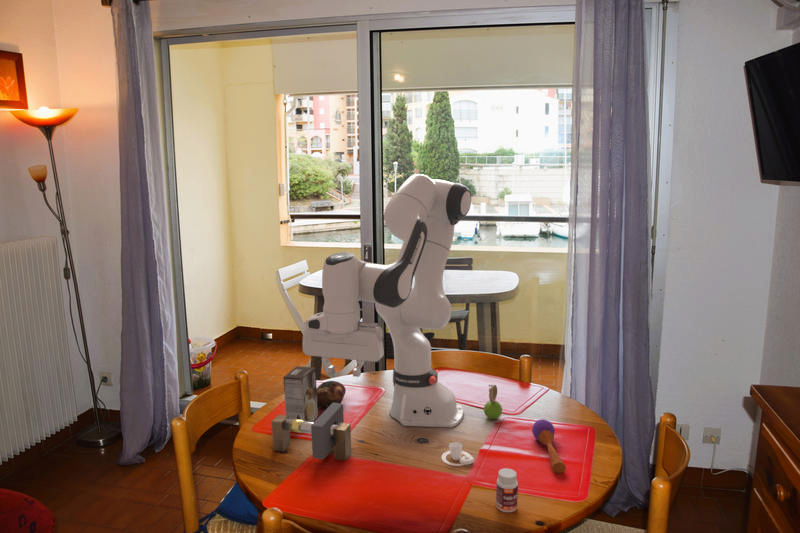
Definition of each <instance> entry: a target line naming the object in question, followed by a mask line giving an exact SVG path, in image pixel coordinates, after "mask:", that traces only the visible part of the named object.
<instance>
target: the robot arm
mask: <svg viewBox="0 0 800 533" xmlns="http://www.w3.org/2000/svg"><path fill="white" fill-rule="evenodd" d="M471 205H472V193H471V191H470V189H469V187H468V186H466V185H464V184H462V183H460V182H451V181H447V180H445V179H438V178H437V179H432V178H430V176H428V175H426V174H420V173H416V174H412V175H411V176H409V177H408V178H407V179H405V181H404V182H402V184H401V185H400V186H399V187H398V189H397V190H396V191H395V193H394V194H393V195H392V197H391V198H390V200H389V201H388V203H387V204H386V207H385V209H384V212H383V221H384V224H385V226H386V228H387V229H388V231H389V232H390V233H391V234H392V235H393V236H394V237H396V238H397V239H399V240H401V241H403V242H402V245H401V248H400V250H399V253H398V255H397V257H396V260H395V261H394V262H392V263H390V264H380V263H373V262H369V261H365V260H364V261H363V260H360V259H359V258H357V257H356V255H355V254H353V253H352V252H337V253H334V254H331V255H329V256H328V257H326V258H325V260H324V263H323V266H322V272H321V273H322V274H321V275H322V276H321V286H322V287H321V288H322V292H321V293H322V296H323V298H324V299H323V300H324V304H323V306H322V312H318V313H315V314H313V315H311V316H310V317H308V318H307V319H306V320H305V321H304V328H305V330H304V331H303V334H302V352H303V354H304V355H305V356H312V357H321V362H322V364H323V365H324V367H325V368H326V374H327V375H333V374H335V371H336V369H335V364H334V365H332V363H331V362H330V359H332V358H333V359H343V360H353V361H356V365H357V367H354V368H353V369H352V377H357V378H359V377H360V376H361V374H362V373H361V372H362V367H363V366H364V364H365V363H366V362H372V363H373V362H375V363H378V362H379V361H380V360H381V359H382V358H383V357H384V353H385V352H384V342H383V338H384V330H383V328H382V327H381V326H380V325H379V324H378V323H376V322H365V321H361V306H360V303H359V301H364V302H368V303H369V302H370V303H374V306H375V310H376V312H377V314H378V315H379V316H380V317H381V318H382V320H383V321H384V322H385V325H386V327H387V328H388V329H387V330H388V332H389V334H390V337H391V339H392V344H393V358H394V368H393V369H392V370H393V371H392V383H393V397H392V402H391V407H390V409H389V414H390V416H391V417H392V418H394V419H395V420H396V421H398V422H399V423H400V424H401V426H403V427H430V428H431V427H433V428H435V427H436V428H454V427H455V426H457V425H460V423H461V422H462V420H463V417H464V416H465V415H464V414H465V413H464V411H465V410H464V407H463V406H462V405H460V404H457V400H456V399H457V398H456V396H455V394H454V392H453V391H452V390H451V389H450V388H448V387H447V386H445V385H444V384H443V383H442V382H440V381H439V380H438V374H439V370H438V369H436V370H434V368H432V346H431V343H430V340H428V338H427V337H426V336H425V335H424V334H423V333H422V331H421V329H423V330H430V331H431V330H432V331H433V330H442V329H444V328H445V327H446V326H448V323H449V322H450V320H451V317H452V305H451V303H450V300H449V299H448V297H447V296H446V294H445V291H444V285H443V283H444V282H443V278H444V272H445V268H446V265H447V261H448V257H449V254H450V252H451V248H452V245H453V240H454V234H455V226H456V225H458V223H459V222H461V221H462V220H463V219H464V218H465V217H466V216H467V214H469V212H470V209H471ZM413 281H414V285H413ZM412 285H413V286H412Z"/></svg>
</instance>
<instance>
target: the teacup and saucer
mask: <svg viewBox="0 0 800 533" xmlns="http://www.w3.org/2000/svg"><path fill="white" fill-rule="evenodd" d="M448 449H449V450H447V451H445V452H443V453H442V454H441V457H440V459H441V461H443V463H444V464H446V465H449V466H454V467H461V466H466V465H471V464H473V463H474V460H475V458H474V457H473V455H471V454H470V453H468V452H466V451H464V450H463V444H462V443H461V442H456V441H455V442H451V443H450V442H449V443H448ZM448 455H450V457H451V458H452V460H454V461H459V463H453V462H449V460H447V456H448ZM462 455H464V456H462Z"/></svg>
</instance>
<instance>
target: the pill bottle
mask: <svg viewBox="0 0 800 533" xmlns="http://www.w3.org/2000/svg"><path fill="white" fill-rule="evenodd" d="M497 475H498V476H497V477H498V478H497V479H496V490H495V491H496V492H495V506H496V508H497V509H498V510H500V511H501V512H503V513H513V512H515V511H517V509H518V493H519V491H518V490H519V489H518V488H519V483H518V480H517V478H518V476H517V471H516V470H514V469H511V468H508V467H507V468H506V467H503V468H501V469H499V470H498V474H497Z"/></svg>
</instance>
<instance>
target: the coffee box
mask: <svg viewBox="0 0 800 533" xmlns="http://www.w3.org/2000/svg"><path fill="white" fill-rule="evenodd" d="M283 387H284V388H283V390H284V407H285V415H286V416H289V419H298V420H304V421H309V422H315V421H316V420H317V419H318V418H319V411H318V410H319V408H317V372H316V367H314V366H313V367H312V366H301V365H300V366H299V365H296V366H295V367H294V368H293V369H292V370H290V371H289V372H288V373H287V374H286V375H284V376H283Z"/></svg>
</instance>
